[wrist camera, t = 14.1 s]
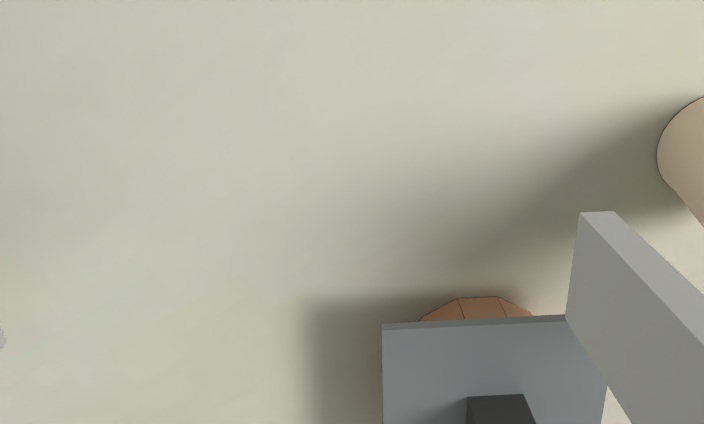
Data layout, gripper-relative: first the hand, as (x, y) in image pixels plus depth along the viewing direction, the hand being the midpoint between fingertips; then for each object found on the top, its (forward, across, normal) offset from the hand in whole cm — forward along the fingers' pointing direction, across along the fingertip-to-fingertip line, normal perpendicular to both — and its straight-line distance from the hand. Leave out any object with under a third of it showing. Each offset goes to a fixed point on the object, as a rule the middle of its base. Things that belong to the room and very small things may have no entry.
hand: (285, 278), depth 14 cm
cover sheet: (+23, +12, -25) cm, 36 cm away
